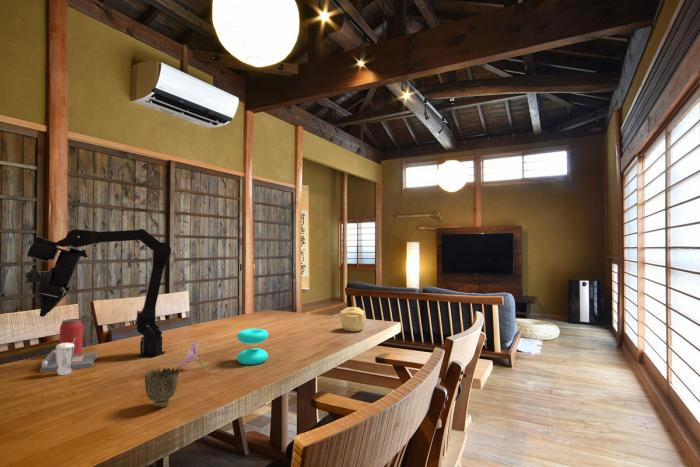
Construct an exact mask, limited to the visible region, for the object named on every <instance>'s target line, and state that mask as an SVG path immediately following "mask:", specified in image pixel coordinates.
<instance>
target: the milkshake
mask: <svg viewBox="0 0 700 467" xmlns="http://www.w3.org/2000/svg"><path fill="white" fill-rule="evenodd" d="M75 339H76V338H74V341H75ZM74 341H73V343H61V344H60V343H59V344H56V346H55V350H56V358H57V371H56V372H57V375H58V376H66V375H70V374H71V373H72V370H73V369H72V360H73V352H74Z"/></svg>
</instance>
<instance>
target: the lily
mask: <svg viewBox="0 0 700 467" xmlns="http://www.w3.org/2000/svg"><path fill="white" fill-rule="evenodd" d="M203 339H204V337H202V338H201V339H200V340H199V341H198V340H197V339H196V340H195V341H194V342H193V344H192V345H191V347H190V348H189V351H185V355H187V356H185V359H183V360H182V361H181V362H180V363H179V364H178V365H177V366H176V368H174V369H175V370H176V369H178V368H179V367H180V366H181V365H182V366H181V367H182V368H183V367H184V366H185V364H186V363H188V362H191V361H195V360H197V362H198V363H199V364H200V365H201V367H202V369H203V370H205V369H206V368H205V366H204V365H203V364H202V362H201V361H200V359H198V356H197V349H198V346H199V344H200V343H201V342H202V340H203ZM197 341H198V342H197Z"/></svg>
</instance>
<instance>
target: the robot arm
mask: <svg viewBox="0 0 700 467" xmlns="http://www.w3.org/2000/svg"><path fill="white" fill-rule="evenodd" d="M130 241H132V242H133V241H140V242H141V243H142V244H143V245H144V246H146V247H147V248H148V249H150V250H151V270H150V274H149V275H150V276H149V280H148V285H147V290H146V295H145V298H144V304H143V305H142V306H143V307H142V308H141V310H137V311H136V318H135V320H134V326H135V327H136V331H137V332H138V334H141V335H142V336H141V337H140V338H141V340H140V342H139V344H140V345H139V346H140V349H139V350H140V351H139V353H137V357H146V358H154V357H157V356H160V355H162V354H166V351H165V350H163V336H162V334H163V332H162V329H161V328H160V327H159V326H158V325H157V324H156V308H157V302H158V297H159V293H160V287H161V282H162V279H163V274H164V269H165V267H166V265H167V263H168V260H169V258H170V256H171V254H172V248H171V245H169V244H168V243H167V242H161V241H160V240H158V239H157V238H156V237H154V236H153V235H152V234H150V233H149V232H148V230H146V229H144V228H139V229H133V230H132V229H129V230H127V229H126V230H110V231H107V230H106V231H95V230H88V229H87V230H85V229H78V228H77V229H71V230H70V231H69V232H68V233H67V234H66V236H65V237H63V238H62V239H60V240H58V241H56V242H55V241H52V240H49V239H45V238H44V237H40V236H37V237H36V239H35V240H34V241H33V243H32V244H31V245H30V247H29V249H28V251H27V254H26V257H27V258H31V259H35V260H39V261H42V262H45V263H46V262H47V263H49V262H50V261H51V260H52V261H55V260H56V261H55V263H54V265H53V267H51V268H50V269H49V270H43V271H42V270H41V271H40V269H38V268H36V269H34V268H33V269H31V270H30V271H27V272H26V275H25V279H26V283H27V284H29V283H34V282H35V283H37V282H39V283H40V282H43V283H44V284H41V285H39V288H38V290H37V295H38V296H40V298H41V303H40V305H41V306H40V311H39V317H43V318H44V317H45V316H46V315H47V314H48V313H50V312H52V310H53V309H54V308H55V307H56V306H57V305H58V304H59V303H60V302H61V301H62V300H63V299H64V298H65V297H66V296H67V295H68V294H69V292H70V291H71V288H72V285H71V280H72V279H73V276H74V275H75V273H76V272H75V271H76V268H77V267H78V264H79V262H80V260H81V258H82V257H83V258H88V257H89V255H88V253H87V251H86V249H84V248H83V249H82V250H79V249H76V248H82V247H86V246H91V245H96V244H102V243H114V242H115V243H116V242H130ZM67 247H70V248H69V250H68V249H64V248H67ZM72 247H73V248H72ZM59 251H60V252H59ZM58 253H59V254H58ZM56 257H57V259H56Z"/></svg>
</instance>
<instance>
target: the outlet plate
mask: <svg viewBox="0 0 700 467" xmlns="http://www.w3.org/2000/svg"><path fill="white" fill-rule="evenodd" d="M97 357H98V351H91V352H83V353H81V354H73V360H72V369H71V370H76V369H85V368H86V369H87V368H92V367H93V365H94V363H95V361H96V359H97ZM39 372H40V373H39V374H42V373H50V372H57V358H56V349H54V350H53V349H51V351H50V352H49V354H48V355H46V357H45V358H44V359H43V360H41V367H40V370H39Z"/></svg>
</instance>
